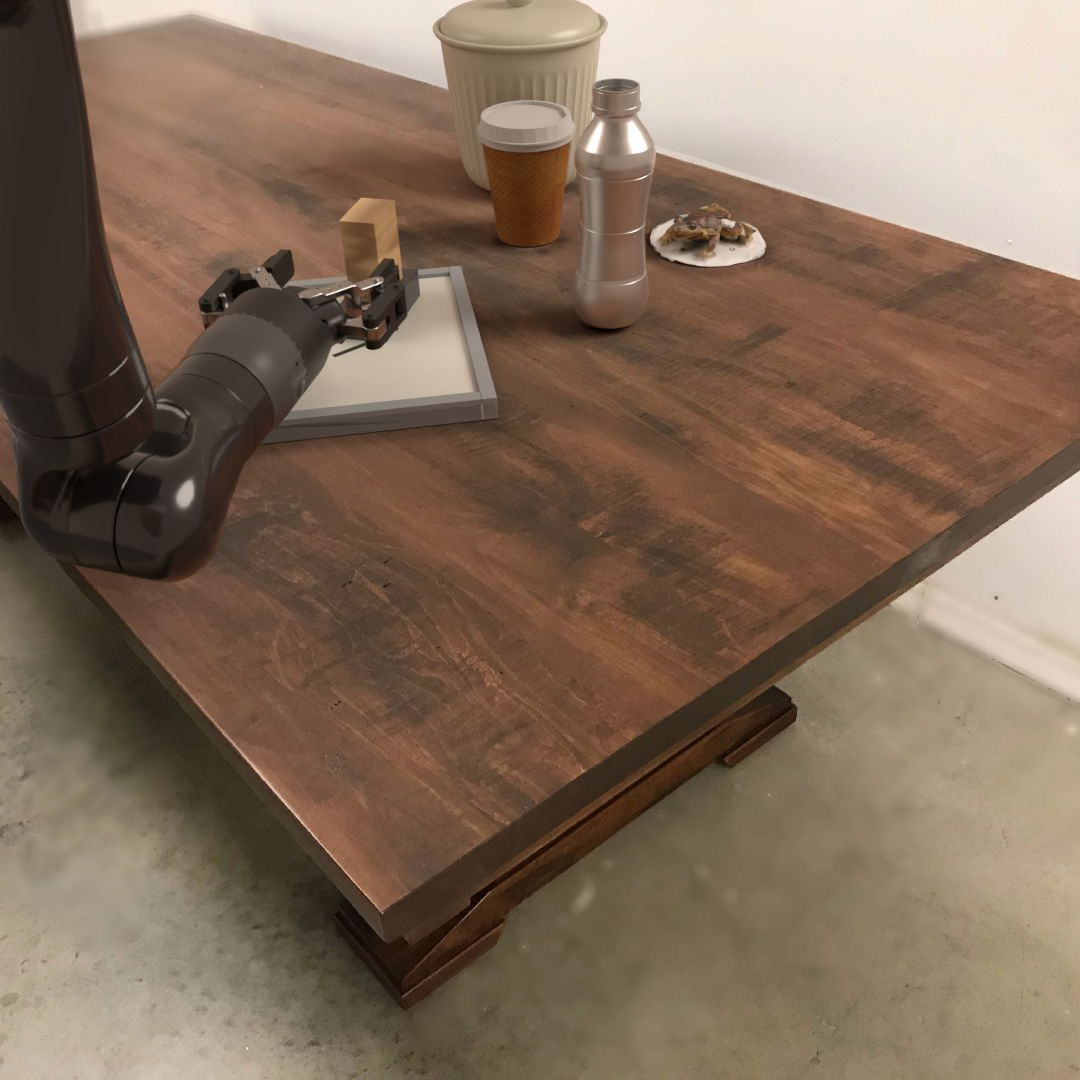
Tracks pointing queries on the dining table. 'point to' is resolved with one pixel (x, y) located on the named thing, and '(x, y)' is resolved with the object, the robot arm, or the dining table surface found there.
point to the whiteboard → (401, 370)
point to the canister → (518, 64)
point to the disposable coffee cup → (527, 167)
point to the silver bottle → (613, 207)
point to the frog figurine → (707, 239)
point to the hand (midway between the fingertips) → (339, 265)
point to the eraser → (374, 246)
